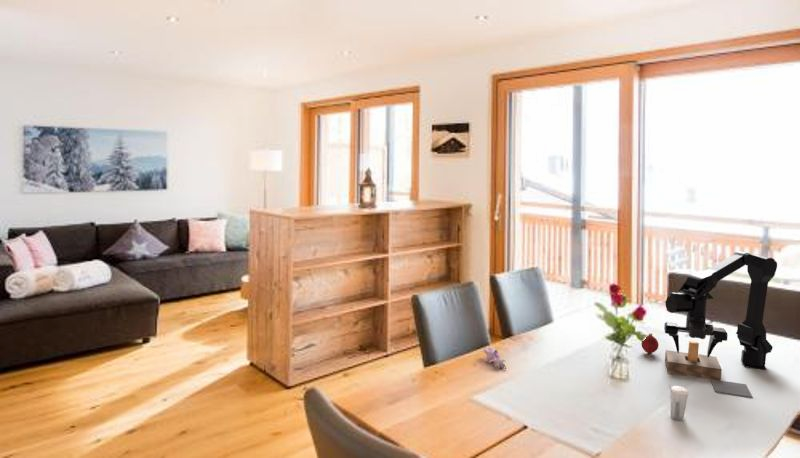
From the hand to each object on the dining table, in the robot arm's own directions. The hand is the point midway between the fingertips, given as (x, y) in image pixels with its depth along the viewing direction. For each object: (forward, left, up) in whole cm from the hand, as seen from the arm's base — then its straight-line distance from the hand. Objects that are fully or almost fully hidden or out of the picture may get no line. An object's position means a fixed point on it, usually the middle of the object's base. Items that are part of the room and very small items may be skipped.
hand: (692, 354), depth 185 cm
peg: (0, 0, -6) cm, 6 cm away
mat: (-10, +12, -6) cm, 17 cm away
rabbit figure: (+65, +22, -6) cm, 69 cm away
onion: (+13, -11, -6) cm, 18 cm away
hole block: (0, 0, -6) cm, 6 cm away
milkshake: (+8, +41, -6) cm, 42 cm away
